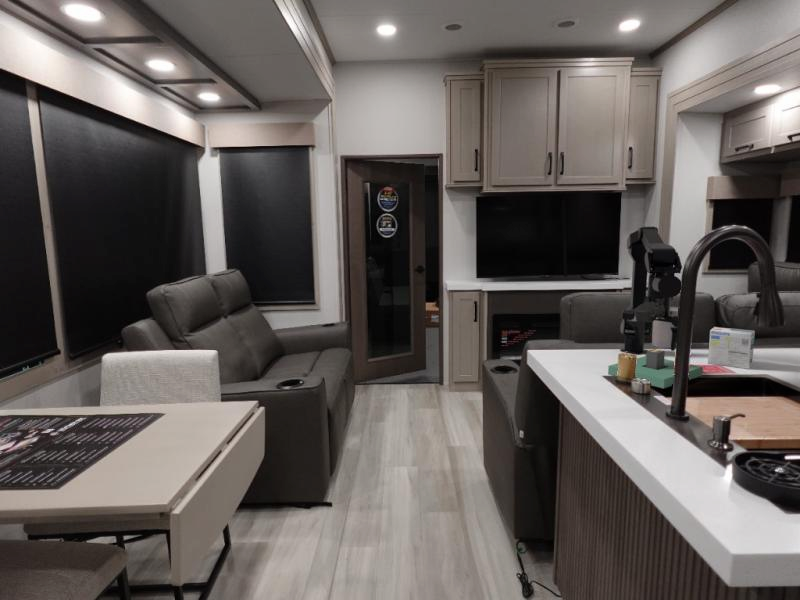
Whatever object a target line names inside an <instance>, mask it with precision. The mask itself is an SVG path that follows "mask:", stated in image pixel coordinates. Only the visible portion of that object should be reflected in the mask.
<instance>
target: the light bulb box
mask: <svg viewBox="0 0 800 600" xmlns="http://www.w3.org/2000/svg"><path fill="white" fill-rule="evenodd" d="M755 334H756V331H755V330H750V329H740V328H728V327H726V328H725V327H718V326H713V328H711V329H710V330H709V344H708V359H707V364H712V365H718V366H724V367H732V368H738V369H746V370H750V369H751V367H752V366H753V363H754V361H753V360H754V349H755V348H754V347H755Z"/></svg>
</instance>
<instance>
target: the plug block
mask: <svg viewBox="0 0 800 600" xmlns="http://www.w3.org/2000/svg"><path fill="white" fill-rule="evenodd" d="M665 352H666V350H661V349H656V348H653V349H649V350H648V351H647V352H646V353H645V354H646V355H645V356H646V367H647V368H651V369H656V370H660V369H663V368H664V359H665V358H666V357H665V355H666V354H665Z"/></svg>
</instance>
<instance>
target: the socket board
mask: <svg viewBox="0 0 800 600" xmlns="http://www.w3.org/2000/svg"><path fill="white" fill-rule="evenodd" d="M674 361H675V360H672V359H671V360H670V359H666V358H664V368H663V369H660V370H656V369H651V368H647V367H646V355H645V356H641V357H638V358H637V364H636V371H635V377H636V378H643V379H647V380H649V381H650V383H651V385H650V386H652V387H656V388H660V389H667V388H669V387H673V386H672V384H673V374H674ZM618 363H619V362H617V363H614V364H611V365H608V366H607V367H608V368H607V369H608V371H607V372H608V373H607V374H608V375H609V374H610V375H609V376H613V375H615V376H614V377H617V376H616V375H617V371H618ZM689 364H690V366H689V380H688V381H690V380H693V379H696V378H699V377H700V376H699V375H702V376H703V371H704V370H703V369H704V368H703V366H700V365H694V364H691V363H689ZM698 376H699V377H698Z"/></svg>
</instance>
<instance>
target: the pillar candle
mask: <svg viewBox="0 0 800 600" xmlns="http://www.w3.org/2000/svg"><path fill="white" fill-rule="evenodd" d="M678 307H679V306H678ZM678 307H677V306H670V311H672V315H670V316H675V315H678ZM663 319H664V318H663ZM670 327H674V326H673V324H672V323H670V322H663V321H656V320H654V321H653V324H652V330H651V345H652V346H653V347H654V348H655V347H656V348H660V349H670V350H671V340H672V331H671V328H670Z"/></svg>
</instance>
